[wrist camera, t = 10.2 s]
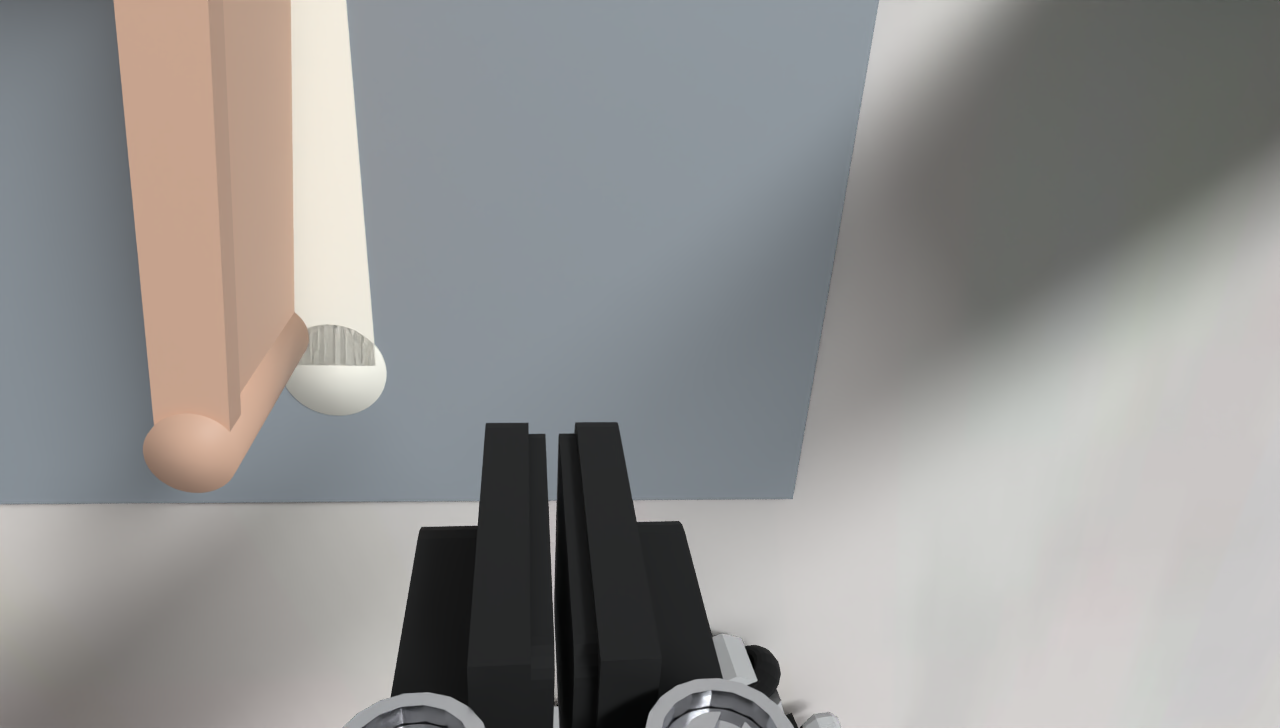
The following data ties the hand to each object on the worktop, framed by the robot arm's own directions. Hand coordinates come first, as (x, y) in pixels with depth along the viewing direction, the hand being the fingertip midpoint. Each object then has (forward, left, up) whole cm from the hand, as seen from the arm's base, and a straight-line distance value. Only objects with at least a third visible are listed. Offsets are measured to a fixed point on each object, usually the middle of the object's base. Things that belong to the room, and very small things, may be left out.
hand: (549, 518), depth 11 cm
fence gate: (-7, +2, -15) cm, 17 cm away
